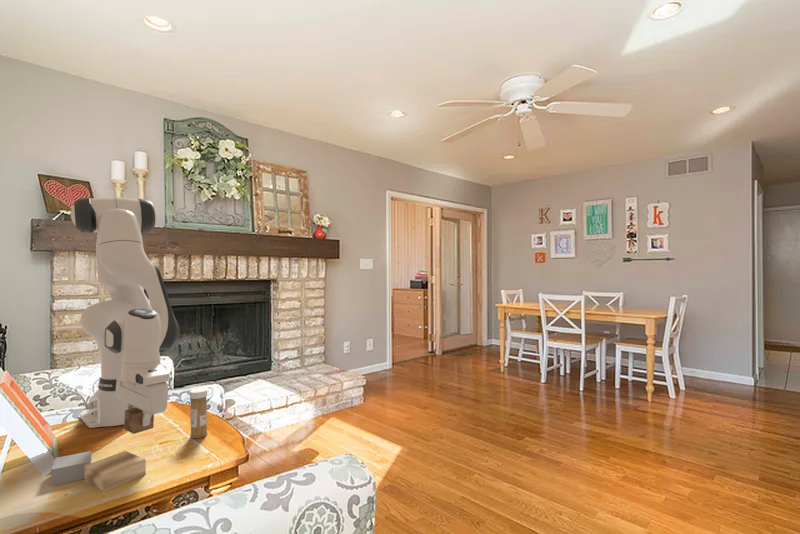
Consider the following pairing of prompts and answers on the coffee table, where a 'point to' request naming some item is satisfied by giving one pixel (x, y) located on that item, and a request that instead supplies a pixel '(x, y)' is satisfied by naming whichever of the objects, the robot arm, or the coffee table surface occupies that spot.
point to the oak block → (114, 470)
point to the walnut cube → (136, 421)
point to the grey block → (69, 468)
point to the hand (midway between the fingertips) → (139, 422)
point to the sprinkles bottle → (198, 413)
